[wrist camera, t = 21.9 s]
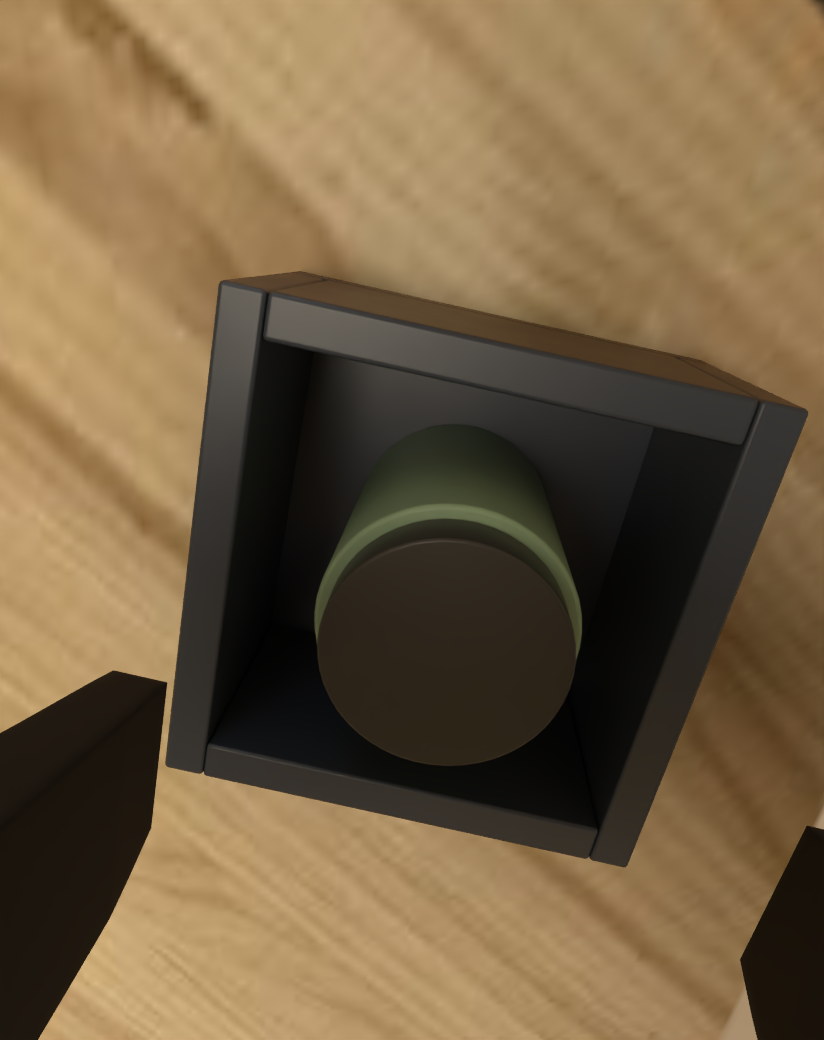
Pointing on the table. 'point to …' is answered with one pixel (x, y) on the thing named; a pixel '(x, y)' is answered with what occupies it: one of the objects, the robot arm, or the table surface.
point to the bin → (574, 506)
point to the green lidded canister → (449, 602)
